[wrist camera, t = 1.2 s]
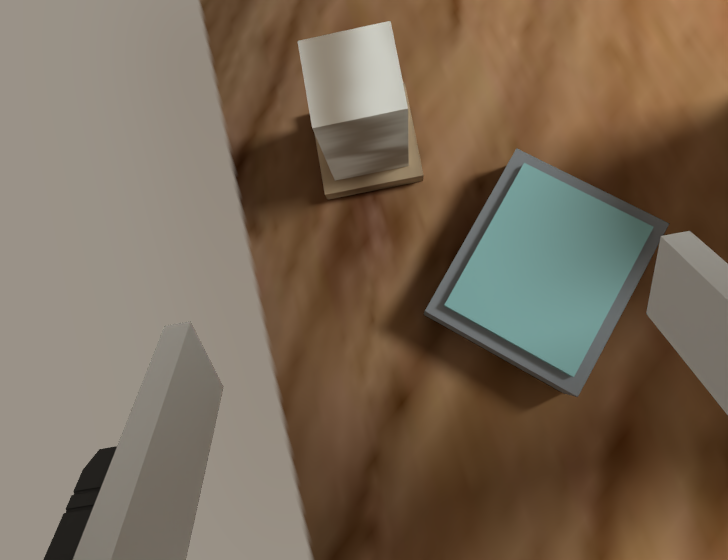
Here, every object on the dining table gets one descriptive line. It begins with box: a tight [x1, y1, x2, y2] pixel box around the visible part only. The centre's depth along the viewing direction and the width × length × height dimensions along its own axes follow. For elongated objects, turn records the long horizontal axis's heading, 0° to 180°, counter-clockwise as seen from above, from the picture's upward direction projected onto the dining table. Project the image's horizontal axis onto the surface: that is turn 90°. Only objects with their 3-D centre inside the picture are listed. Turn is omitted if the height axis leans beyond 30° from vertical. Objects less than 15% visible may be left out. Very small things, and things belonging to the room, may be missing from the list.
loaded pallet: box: [298, 21, 423, 199], centre depth 37 cm, size 8×8×11 cm
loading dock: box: [424, 149, 669, 397], centre depth 38 cm, size 14×12×4 cm
